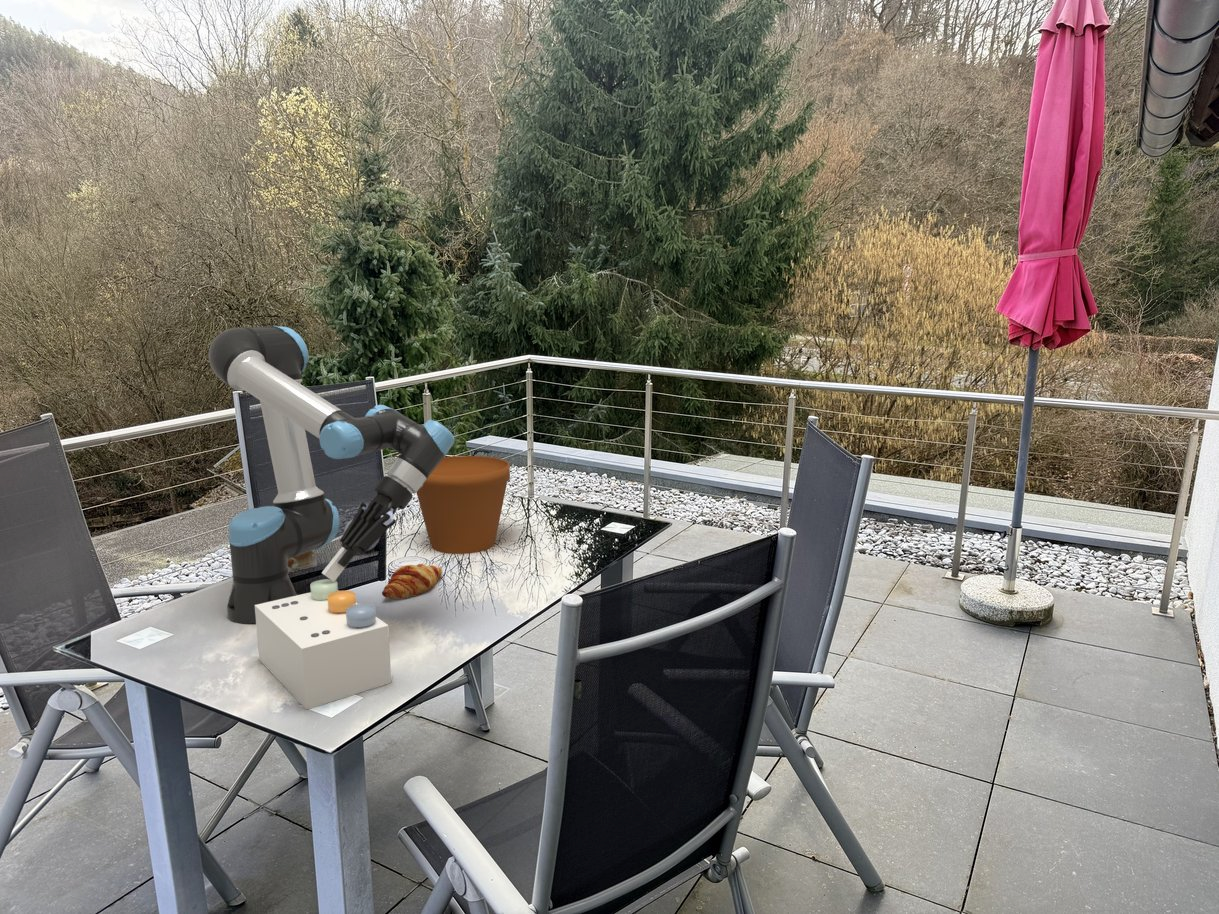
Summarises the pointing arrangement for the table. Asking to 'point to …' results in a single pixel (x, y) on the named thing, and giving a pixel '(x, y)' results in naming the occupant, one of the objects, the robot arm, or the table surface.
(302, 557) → the coffee box
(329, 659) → the console
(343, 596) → the button orange
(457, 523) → the flowerpot
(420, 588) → the croissant
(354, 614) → the button slate
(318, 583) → the button sage
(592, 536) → the table surface
